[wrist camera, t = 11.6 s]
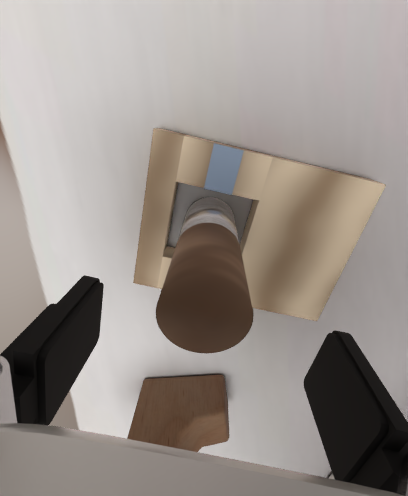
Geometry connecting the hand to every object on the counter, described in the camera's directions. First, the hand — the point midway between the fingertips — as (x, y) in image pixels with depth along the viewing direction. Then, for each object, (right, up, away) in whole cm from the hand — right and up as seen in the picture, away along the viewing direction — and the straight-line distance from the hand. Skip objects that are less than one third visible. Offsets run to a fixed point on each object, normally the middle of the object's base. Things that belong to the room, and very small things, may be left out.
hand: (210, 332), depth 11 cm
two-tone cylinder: (0, +6, +11) cm, 12 cm away
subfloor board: (+3, +5, +11) cm, 13 cm away
